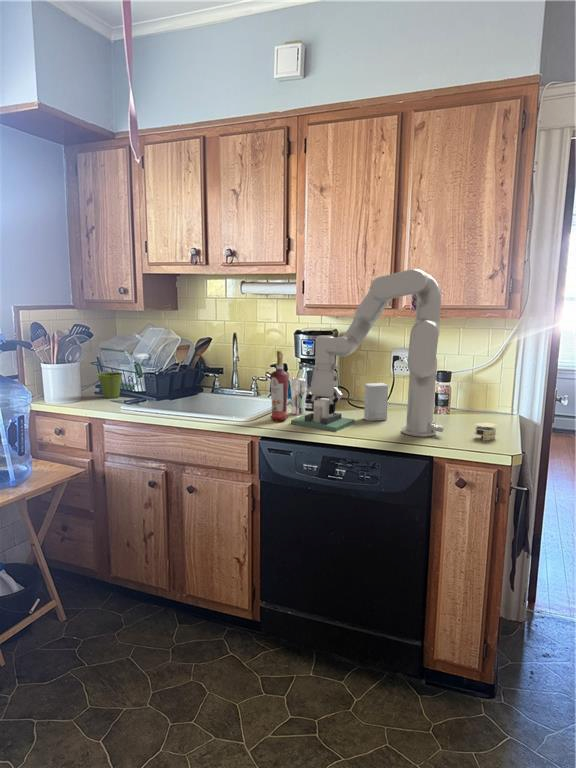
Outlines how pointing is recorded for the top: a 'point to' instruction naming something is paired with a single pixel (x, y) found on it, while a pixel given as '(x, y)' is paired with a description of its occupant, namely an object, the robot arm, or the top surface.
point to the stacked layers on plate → (486, 430)
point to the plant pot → (110, 383)
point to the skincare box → (376, 401)
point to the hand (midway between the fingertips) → (323, 411)
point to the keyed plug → (321, 409)
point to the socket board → (324, 422)
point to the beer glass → (298, 395)
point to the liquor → (279, 390)
